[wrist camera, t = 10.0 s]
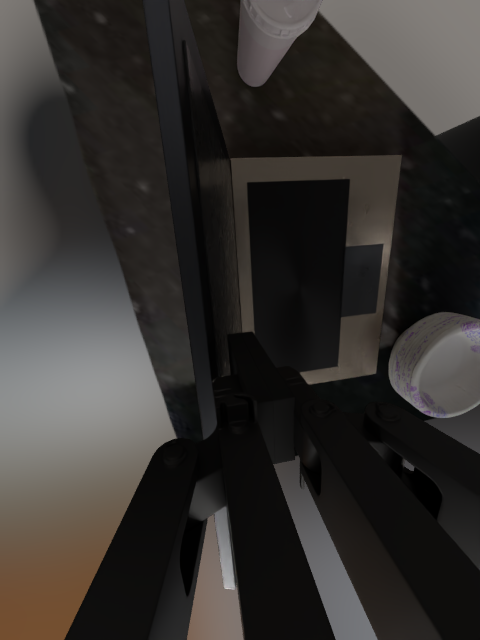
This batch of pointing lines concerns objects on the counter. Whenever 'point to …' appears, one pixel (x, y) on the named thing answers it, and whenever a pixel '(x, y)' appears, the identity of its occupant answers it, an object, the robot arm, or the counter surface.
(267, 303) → the laptop
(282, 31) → the smoothie
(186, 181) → the laptop screen
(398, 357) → the paper bowls
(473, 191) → the counter surface
